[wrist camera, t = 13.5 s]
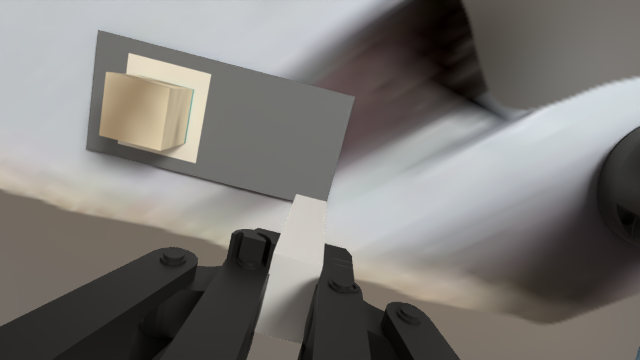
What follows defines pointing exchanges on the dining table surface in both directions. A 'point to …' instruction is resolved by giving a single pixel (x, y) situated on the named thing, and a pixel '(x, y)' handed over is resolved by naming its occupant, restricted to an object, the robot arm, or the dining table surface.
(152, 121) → the birch block
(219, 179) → the charcoal mat
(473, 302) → the dining table surface
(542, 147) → the dining table surface
